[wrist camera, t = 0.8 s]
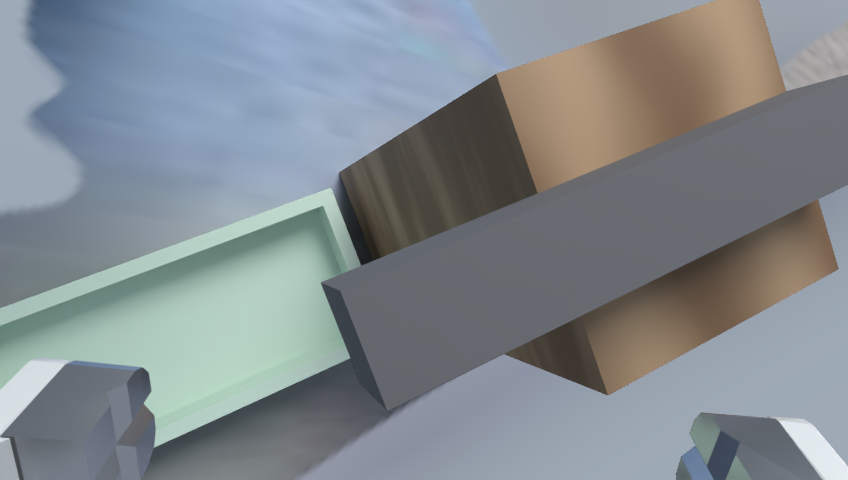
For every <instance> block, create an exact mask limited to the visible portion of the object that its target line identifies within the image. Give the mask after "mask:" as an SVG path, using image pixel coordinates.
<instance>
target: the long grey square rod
mask: <svg viewBox="0 0 848 480" xmlns="http://www.w3.org/2000/svg"><path fill="white" fill-rule="evenodd" d="M846 185H848V75H845V76H841V77H838V78H834V79H830V80H827V81H823V82H819V83H816V84H812V85H808V86H805V87H801V88H797V89H793V90H790V91H786V92H783V93H781V94H779V95H776V96H774V97H771V98H769V99H766V100H764V101H762V102H759V103H757V104H754V105H752V106H749V107H747V108H745V109H742V110H740V111H737V112H735V113H732V114H730V115H727V116H725V117H723V118H720V119H718V120H715V121H713V122H710V123H708V124H706V125H703V126H701V127H698V128H696V129H693V130H691V131H688V132H686V133H684V134H681V135H679V136H676V137H674V138H671V139H669V140H667V141H664V142H662V143H659V144H657V145H654V146H652V147H650V148H647V149H645V150H642V151H640V152H637V153H635V154H632V155H630V156H628V157H625V158H623V159H620V160H618V161H615V162H613V163H611V164H608V165H606V166H603V167H601V168H598V169H596V170H593V171H591V172H589V173H586V174H584V175H581V176H579V177H576V178H574V179H572V180H569V181H567V182H564V183H562V184H559V185H557V186H555V187H552V188H550V189H547V190H545V191H542V192H540V193H537V194H535V195H533V196H530V197H528V198H525V199H523V200H520V201H518V202H516V203H513V204H511V205H508V206H506V207H503V208H501V209H498V210H496V211H494V212H491V213H489V214H486V215H484V216H481V217H479V218H477V219H474V220H472V221H469V222H467V223H464V224H462V225H460V226H457V227H455V228H452V229H450V230H447V231H445V232H442V233H440V234H438V235H435V236H433V237H430V238H428V239H425V240H423V241H421V242H418V243H416V244H413V245H411V246H408V247H406V248H403V249H401V250H399V251H396V252H394V253H391V254H389V255H386V256H384V257H382V258H379V259H377V260H374V261H372V262H369V263H367V264H365V265H362V266H360V267H357V268H355V269H352V270H350V271H347V272H345V273H343V274H340V275H338V276H335V277H333V278H330V279H328V280H326V281H323V282H321V285H322V288H323V290H324V293H325V295H326V298H327V300H328V303H329V305H330V308H331V310H332V313H333V315H334V318H335V320H336V323H337V326H338V328H339V331H340V333H341V336H342V338H343V341H344V343H345V346H346V348H347V351H348V353H349V356H350V358H351V361H352V363H353V366H354V369H355V371H356V374H357V376H358V379H359V381H360V383H361V384H362V385H363V386H364V387H365V388H366V389H367V390H368V392H369V393H370V394H371V395H372V396H373V397H374V398H375V399H376V400H377V401H378V402H379V403H380V404H381V405H382V406H383V407H384V408H385V409H386V410H387V411H389V410H391V409H393V408H395V407H397V406H399V405H401V404H403V403H405V402H407V401H409V400H411V399H413V398H415V397H417V396H420V395H422V394H424V393H426V392H428V391H430V390H432V389H434V388H436V387H438V386H440V385H442V384H444V383H446V382H448V381H450V380H452V379H454V378H456V377H458V376H460V375H462V374H464V373H466V372H468V371H470V370H472V369H474V368H476V367H478V366H480V365H482V364H485V363H487V362H489V361H491V360H493V359H495V358H497V357H498V356H501V355H503V354H505V353H507V352H509V351H511V350H513V349H515V348H517V347H519V346H521V345H523V344H525V343H527V342H529V341H531V340H533V339H535V338H537V337H539V336H541V335H543V334H545V333H547V332H549V331H552V330H554V329H556V328H558V327H560V326H562V325H564V324H566V323H568V322H570V321H572V320H574V319H576V318H578V317H580V316H582V315H584V314H586V313H588V312H590V311H592V310H594V309H596V308H598V307H600V306H602V305H604V304H606V303H608V302H610V301H612V300H614V299H616V298H619V297H621V296H623V295H625V294H627V293H629V292H631V291H633V290H635V289H637V288H639V287H641V286H643V285H645V284H647V283H649V282H651V281H653V280H655V279H657V278H659V277H661V276H663V275H665V274H667V273H669V272H671V271H673V270H675V269H677V268H679V267H681V266H684V265H686V264H688V263H690V262H692V261H694V260H696V259H698V258H700V257H702V256H704V255H706V254H708V253H710V252H712V251H714V250H716V249H718V248H720V247H722V246H724V245H726V244H728V243H730V242H732V241H734V240H736V239H738V238H740V237H742V236H744V235H746V234H748V233H751V232H753V231H755V230H757V229H759V228H761V227H763V226H765V225H767V224H769V223H771V222H773V221H775V220H777V219H779V218H781V217H783V216H785V215H787V214H789V213H791V212H793V211H795V210H797V209H799V208H801V207H803V206H805V205H807V204H809V203H811V202H813V201H815V200H818V199H819V198H822V197H824V196H825V195H828V194H830V193H832V192H834V191H836V190H838V189H840V188H842V187H844V186H846Z"/></svg>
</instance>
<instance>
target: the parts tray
mask: <svg viewBox="0 0 848 480" xmlns="http://www.w3.org/2000/svg"><path fill="white" fill-rule="evenodd" d="M360 266H361V264H360V261H359V259H358V256H357V253H356V251H355V248H354V246H353V243H352V241H351V238H350V235H349V233H348V230H347V228H346V225H345V222H344V220H343V217H342V215H341V212H340V210H339V207H338V204H337V202H336V199H335V197H334V194H333V191H332V189H331V188H329V189H326V190H323V191H320V192H318V193H315V194H312V195H309V196H307V197H304V198H301V199H298V200H296V201H293V202H290V203H287V204H285V205H282V206H279V207H276V208H274V209H271V210H268V211H266V212H263V213H260V214H257V215H255V216H252V217H249V218H246V219H244V220H241V221H238V222H235V223H233V224H230V225H227V226H224V227H222V228H219V229H216V230H213V231H211V232H208V233H205V234H202V235H200V236H197V237H194V238H191V239H189V240H186V241H183V242H180V243H178V244H175V245H172V246H169V247H167V248H164V249H161V250H158V251H156V252H153V253H150V254H148V255H145V256H142V257H139V258H137V259H134V260H131V261H128V262H126V263H123V264H120V265H117V266H115V267H112V268H109V269H106V270H104V271H101V272H98V273H95V274H93V275H90V276H87V277H84V278H82V279H79V280H76V281H73V282H71V283H68V284H65V285H62V286H60V287H57V288H54V289H51V290H49V291H46V292H43V293H40V294H38V295H35V296H32V297H29V298H27V299H24V300H21V301H19V302H16V303H13V304H10V305H8V306H5V307H2V308H0V389H1V388H2V387H3V386H4V385H5V384H6V383H7V382H8V381H10V380H11V379H12V378H13V377H14V376H15V375H16V374H17V373H18V372H19V371H20V370H21V369H22V368H23V367H24V366H25V365H26V364H27V363H28V362H29V361H31V360H34V359H37V358H40V357H41V358H52V359H63V360H71V361H75V360H76V361H86V362H96V363H106V364H115V365H125V366H135V367H143V368H144V369H145V370H146V371H148V372H149V377H150V384H151V390H152V391H151V393H150V394H149V396H148V397H147V399H146V401H145V402H144V405H145V406H146V407H147V408H148V409H149V410H150V411H151V412H152V413H153V414H154V416H155V426H156V432H155V445H154V447H157V446H159V445H161V444H163V443H165V442H168V441H170V440H172V439H174V438H176V437H179V436H181V435H183V434H185V433H187V432H190V431H192V430H194V429H196V428H198V427H201V426H203V425H205V424H207V423H209V422H211V421H214V420H216V419H218V418H220V417H222V416H225V415H227V414H229V413H231V412H233V411H236V410H238V409H240V408H242V407H244V406H247V405H249V404H251V403H253V402H255V401H258V400H260V399H262V398H264V397H266V396H269V395H271V394H273V393H275V392H277V391H280V390H282V389H284V388H286V387H288V386H290V385H293V384H295V383H297V382H299V381H301V380H304V379H306V378H308V377H310V376H312V375H315V374H317V373H319V372H321V371H323V370H326V369H328V368H330V367H332V366H334V365H337V364H339V363H341V362H343V361H345V360H348V359H350V356H349V353H348V351H347V348H346V346H345V343H344V341H343V338H342V336H341V333H340V331H339V328H338V326H337V323H336V320H335V318H334V315H333V313H332V310H331V308H330V305H329V303H328V300H327V298H326V295H325V293H324V290H323V288H322V285H321V282H323V281H326V280H328V279H330V278H333V277H335V276H338V275H340V274H343V273H345V272H347V271H350V270H352V269H355V268H357V267H360Z"/></svg>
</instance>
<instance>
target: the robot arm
mask: <svg viewBox="0 0 848 480" xmlns="http://www.w3.org/2000/svg"><path fill="white" fill-rule="evenodd" d="M151 391H152V390H151V384H150V377H149V372H148V371H146V370H145V369H144V368H143V367H135V366H125V365H115V364H106V363H96V362H86V361H76V360H75V361H71V360H63V359H52V358H41V357H40V358H37V359H34V360H31V361H29V362H28V363H27V364H26V365H25V366H24V367H23V368H22V369H21V370H20V371H19V372H18V373H17V374H16V375H15V376H14V377H13V378H12V379H11V380H10V381H8V382H7V383H6V384H5V385H4V386H3V387H2V388H1V389H0V480H141V478H142V476H143V475H144V473H145V471H146V469H147V467H148V465H149V462H150V459H151V455H152V452H153V448H154V445H155V432H156V426H155V416H154V414H153V413H152V412H151V411H150V410H149V409H148V408H147V407H146V406H145V405H144V402H145V401H146V399H147V397H148V396H149V394H150V393H151ZM689 434H690V436H691V438H692V440H693V442H694V444H695V446H694V447H693V448H692V449H691V450H689V451H688V452H687V453H685V454H684V455H683V456H682V457H681V459H680V463H679V466H678V469H677V473H676V480H848V466H847V465H846V464H845V463H844V461H843V460H842V459H841V458H840V457H839V456H838V454H837V453H836V452H835V451H834V450H833V449H832V447H831V446H830V445H829V444H828V443H827V441H826V440H825V439H824V438H823V436H822V435H821V434H820V433H819V432H818V430H817V429H816V428H815V427H814V426H813V425H812V424H811V423H809V422H807V421H806V420H804V419H801V418H783V417H767V418H764V417H752V416H739V415H725V414H712V413H700V414H699V415H698V417H697V418H696V419H695V420H694V422H693V425H692V428H691V430H690V433H689Z"/></svg>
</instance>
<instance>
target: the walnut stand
mask: <svg viewBox="0 0 848 480" xmlns="http://www.w3.org/2000/svg"><path fill="white" fill-rule="evenodd" d="M783 92H786V90H785V86H784V83H783V80H782V76H781V73H780V70H779V66H778V63H777V60H776V56H775V53H774V50H773V46H772V43H771V39H770V36H769V32H768V29H767V26H766V22H765V19H764V16H763V12H762V9H761V5H760V2H759V0H716V1H713V2H710V3H707V4H704V5H701V6H698V7H695V8H692V9H689V10H686V11H683V12H680V13H677V14H674V15H671V16H668V17H665V18H662V19H659V20H656V21H653V22H650V23H647V24H644V25H641V26H638V27H635V28H632V29H629V30H626V31H623V32H620V33H617V34H614V35H611V36H608V37H605V38H602V39H599V40H596V41H593V42H590V43H587V44H584V45H581V46H579V47H575V48H572V49H569V50H566V51H563V52H560V53H557V54H554V55H551V56H549V57H546V58H542V59H539V60H537V61H534V62H530V63H527V64H524V65H521V66H518V67H515V68H512V69H509V70H506V71H503V72H500V73H497V74H495V75H494V76H492V77H490V78H489V79H487V80H486V81H484V82H482V83H481V84H479V85H478V86H476V87H475V88H473V89H471V90H470V91H468V92H467V93H465V94H463V95H462V96H460V97H459V98H457V99H455V100H454V101H452V102H451V103H449V104H447V105H446V106H444V107H443V108H441V109H439V110H438V111H436V112H435V113H433V114H431V115H430V116H428V117H427V118H425V119H424V120H422V121H420V122H419V123H417V124H416V125H414V126H412V127H411V128H409V129H408V130H406V131H404V132H403V133H401V134H400V135H398V136H396V137H395V138H393V139H392V140H390V141H388V142H387V143H385V144H384V145H382V146H380V147H379V148H377V149H376V150H374V151H373V152H371V153H369V154H368V155H366V156H365V157H363V158H361V159H360V160H358V161H357V162H355V163H353V164H352V165H350V166H349V167H347V168H345V169H344V170H342V171H341V172H339V173H340V176H341V178H342V181H343V184H344V186H345V189H346V191H347V194H348V197H349V199H350V202H351V204H352V207H353V210H354V212H355V215H356V217H357V220H358V223H359V225H360V228H361V230H362V233H363V236H364V238H365V241H366V243H367V246H368V249H369V251H370V254H371V257H372V259H373V261H374V260H377V259H379V258H382V257H384V256H386V255H389V254H391V253H394V252H396V251H399V250H401V249H403V248H406V247H408V246H411V245H413V244H416V243H418V242H421V241H423V240H425V239H428V238H430V237H433V236H435V235H438V234H440V233H442V232H445V231H447V230H450V229H452V228H455V227H457V226H460V225H462V224H464V223H467V222H469V221H472V220H474V219H477V218H479V217H481V216H484V215H486V214H489V213H491V212H494V211H496V210H498V209H501V208H503V207H506V206H508V205H511V204H513V203H516V202H518V201H520V200H523V199H525V198H528V197H530V196H533V195H535V194H537V193H540V192H542V191H545V190H547V189H550V188H552V187H555V186H557V185H559V184H562V183H564V182H567V181H569V180H572V179H574V178H576V177H579V176H581V175H584V174H586V173H589V172H591V171H593V170H596V169H598V168H601V167H603V166H606V165H608V164H611V163H613V162H615V161H618V160H620V159H623V158H625V157H628V156H630V155H632V154H635V153H637V152H640V151H642V150H645V149H647V148H650V147H652V146H654V145H657V144H659V143H662V142H664V141H667V140H669V139H671V138H674V137H676V136H679V135H681V134H684V133H686V132H688V131H691V130H693V129H696V128H698V127H701V126H703V125H706V124H708V123H710V122H713V121H715V120H718V119H720V118H723V117H725V116H727V115H730V114H732V113H735V112H737V111H740V110H742V109H745V108H747V107H749V106H752V105H754V104H757V103H759V102H762V101H764V100H766V99H769V98H771V97H774V96H776V95H779V94H781V93H783ZM836 270H838V265H837V262H836V258H835V255H834V252H833V249H832V245H831V242H830V239H829V235H828V232H827V228H826V225H825V221H824V218H823V215H822V211H821V208H820V204H819V201H818V200H815V201H813V202H811V203H809V204H807V205H805V206H803V207H801V208H799V209H797V210H795V211H793V212H791V213H789V214H787V215H785V216H783V217H781V218H779V219H777V220H775V221H773V222H771V223H769V224H767V225H765V226H763V227H761V228H759V229H757V230H755V231H753V232H751V233H748V234H746V235H744V236H742V237H740V238H738V239H736V240H734V241H732V242H730V243H728V244H726V245H724V246H722V247H720V248H718V249H716V250H714V251H712V252H710V253H708V254H706V255H704V256H702V257H700V258H698V259H696V260H694V261H692V262H690V263H688V264H686V265H684V266H681V267H679V268H677V269H675V270H673V271H671V272H669V273H667V274H665V275H663V276H661V277H659V278H657V279H655V280H653V281H651V282H649V283H647V284H645V285H643V286H641V287H639V288H637V289H635V290H633V291H631V292H629V293H627V294H625V295H623V296H621V297H619V298H616V299H614V300H612V301H610V302H608V303H606V304H604V305H602V306H600V307H598V308H596V309H594V310H592V311H590V312H588V313H586V314H584V315H582V316H580V317H578V318H576V319H574V320H572V321H570V322H568V323H566V324H564V325H562V326H560V327H558V328H556V329H554V330H552V331H549V332H547V333H545V334H543V335H541V336H539V337H537V338H535V339H533V340H531V341H529V342H527V343H525V344H523V345H521V346H519V347H517V348H515V349H513V350H511V351H509V352H507V353H505V355H508V356H510V357H513V358H515V359H518V360H520V361H523V362H525V363H528V364H530V365H533V366H536V367H538V368H540V369H543V370H546V371H548V372H551V373H553V374H556V375H558V376H561V377H563V378H566V379H568V380H571V381H573V382H576V383H578V384H581V385H583V386H586V387H588V388H591V389H593V390H596V391H598V392H601V393H603V394H606V395H610V394H612V393H613V392H615V391H617V390H619V389H621V388H622V387H624V386H626V385H628V384H630V383H632V382H633V381H635V380H637V379H639V378H641V377H643V376H644V375H646V374H648V373H650V372H652V371H654V370H655V369H657V368H659V367H661V366H663V365H664V364H666V363H668V362H670V361H672V360H674V359H675V358H677V357H679V356H681V355H683V354H684V353H686V352H688V351H690V350H692V349H693V348H696V347H697V346H699V345H701V344H703V343H705V342H706V341H708V340H710V339H712V338H714V337H716V336H717V335H719V334H721V333H723V332H725V331H727V330H728V329H730V328H732V327H734V326H736V325H738V324H739V323H741V322H743V321H745V320H747V319H748V318H750V317H752V316H754V315H756V314H758V313H759V312H761V311H763V310H765V309H767V308H769V307H770V306H772V305H774V304H776V303H778V302H779V301H781V300H783V299H785V298H787V297H789V296H790V295H792V294H794V293H796V292H798V291H800V290H801V289H803V288H805V287H807V286H809V285H810V284H812V283H814V282H816V281H818V280H819V279H822V278H823V277H825V276H827V275H829V274H831V273H832V272H834V271H836Z"/></svg>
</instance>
